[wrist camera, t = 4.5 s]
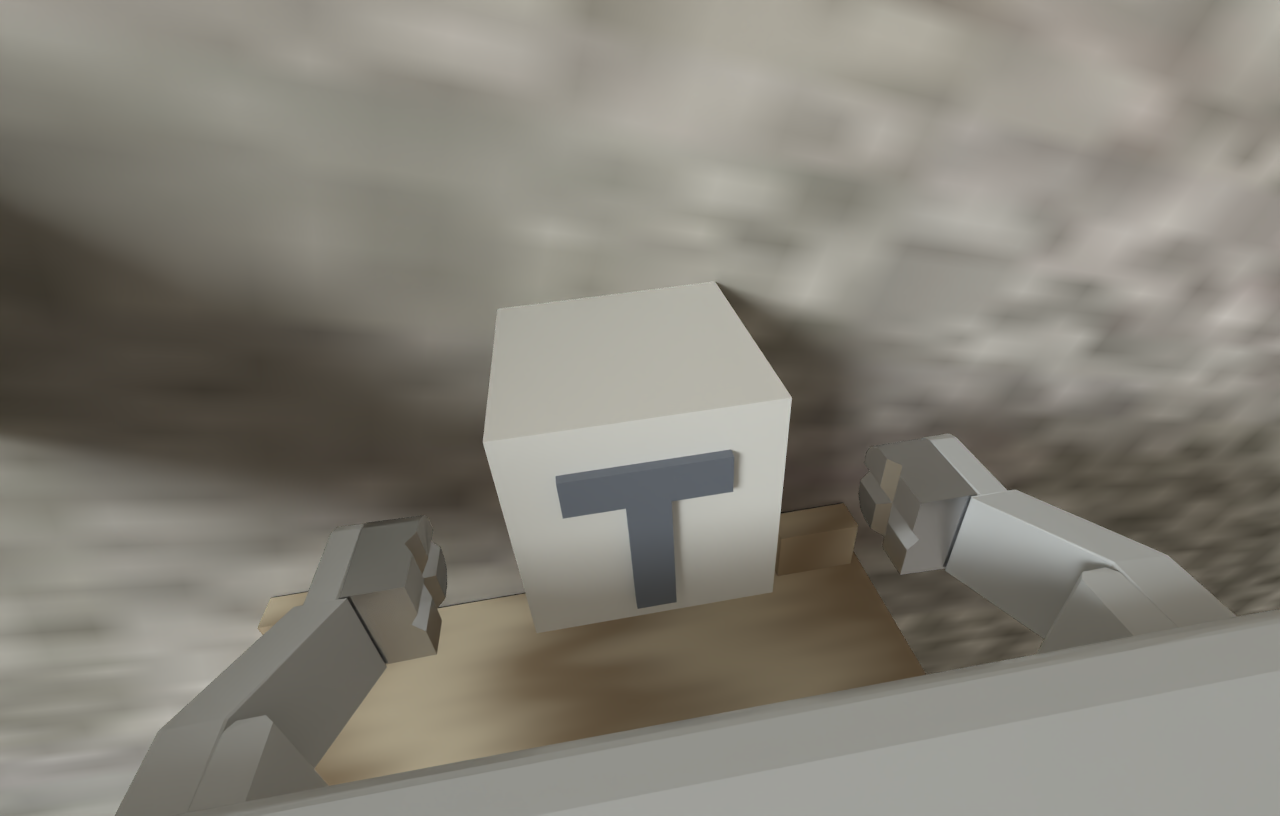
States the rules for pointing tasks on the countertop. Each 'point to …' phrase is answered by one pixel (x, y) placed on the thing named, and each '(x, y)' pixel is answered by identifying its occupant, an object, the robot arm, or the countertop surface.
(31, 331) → the countertop surface
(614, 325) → the letter cube
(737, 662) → the screen
